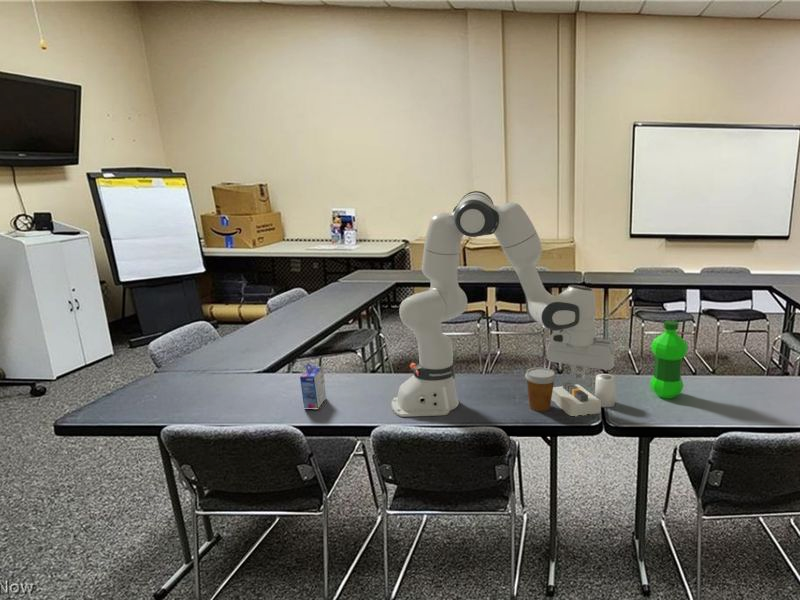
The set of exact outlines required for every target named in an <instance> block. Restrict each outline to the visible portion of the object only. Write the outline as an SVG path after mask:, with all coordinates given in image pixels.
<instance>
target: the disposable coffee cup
mask: <svg viewBox="0 0 800 600" xmlns="http://www.w3.org/2000/svg"><path fill="white" fill-rule="evenodd" d="M524 378H525V380H526V386H527V395H528V403H529V404H528V405H529V408H530V409H531V410H533V411H535V412H547V411H549V410H551V404H552V400H551V398H552V392H553V385H554V384H555V381H556V379H557V377H556V375H555V371H554V370H552V369H550V368H546V367H531V368H529V369H528V368H527V370H526V373H525V375H524Z"/></svg>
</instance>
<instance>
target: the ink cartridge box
mask: <svg viewBox="0 0 800 600" xmlns="http://www.w3.org/2000/svg"><path fill="white" fill-rule="evenodd" d="M304 368H305V370H304V372H302V374H301V375H300V377H299V380H300V387H301V395H302V401H303V402H302V403H303V409H304V408H319V407H320V405H321V404H322V403H323V401H324V400H325V398H326V399H327V391H326V384H325V375H324V367H323V365H321V366H318V365H316V366H315V365H314V366H313V365H311V364H310V363H309V362H308V363H307V364H306V365H305V366H304ZM325 401H326V400H325ZM325 401H324V402H325ZM323 404H324V403H323ZM323 404H322V405H323ZM320 408H321V407H320Z"/></svg>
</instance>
